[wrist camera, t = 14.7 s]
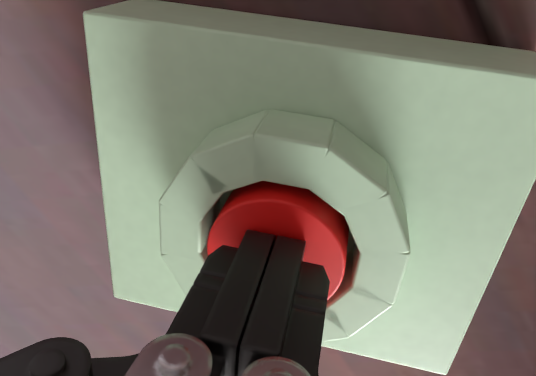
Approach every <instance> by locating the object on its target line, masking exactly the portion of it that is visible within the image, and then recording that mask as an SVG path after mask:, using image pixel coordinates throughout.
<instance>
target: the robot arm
mask: <svg viewBox="0 0 536 376" xmlns="http://www.w3.org/2000/svg"><path fill="white" fill-rule="evenodd" d="M305 246H306V241H303V240H298V239H293V238H289V237H284V236H279V235H278V236H277V238H276V235H273V234H268V233H263V232H258V231H253V230H249V229H248V230H247V231H246V232H245V235H244V237H243V239H242V241H241V243H240V246H239V248H236V247H231V246H227V245H222V246H220V247H219V248H218V249H216V250H215V251H214V252H212V253H211V254H210V255H208V257H207V259H206V260H205V262H204V264H203V266H202V268H201V270H200V273H198V275H197V277H196V279H195V281H194V284H193V286H192V287H191V288H190V290H189V292H188V294H187V296H186V298H185V300H184V302H183V303H182V305H181V307H180V309H179V311H178V313H177V315H176V316H175V318H174V320H173V322H172V324H171V326H170V328H169V330H168V331H167V333H166V334H165V335H163V336H160V337H158V338H156V339H154V340H153V341H151V342H150V343H148V344H147V345H146V346H145V347H144V348H143V349H142V351H141V352H140V353H139V354H136V355H131V356H125V357H109V358H91V356H90V353H89V350H88V349H87V347H86V346H85V345H84V344H83V343H81V342H79V341H78V340H75V339H72V338H66V337H57V338H50V339H46V340H43V341H40V342H37V343H35V344H33V345H30V346H28V347H26V348H23V349H21V350H19V351H16V352H14V353H12V354H10V355H7V356H5V357H3V358H0V376H318V365H319V358H320V351H321V343H322V336H323V328H324V321H325V313H326V306H327V299H328V292H329V284H330V281H329V278H328V276H327V274H326V271H325V269H324V266H323V265H318V264H313V263H308V262H304V261H303V257H304V252H305Z"/></svg>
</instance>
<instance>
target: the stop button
mask: <svg viewBox="0 0 536 376" xmlns="http://www.w3.org/2000/svg"><path fill="white" fill-rule="evenodd" d="M248 229H249V230H253V231H258V232H263V233H268V234H273V235H276V238H277V236H278V235H279V236H284V237H289V238H293V239H298V240H303V241H306V246H305V252H304V257H303V261H304V262H308V263H313V264H318V265H323V266H324V269H325V271H326V274H327V276H328V278H329V281H330V284H329V292H328V299H329V298H330V297H331V296H332V295H333V294H334V293H335V292H336V291H337V289H338V288H339V286H340V284H341V282H342V280H343V277H344V274H345V267H346V256H347V246H348V235H349V226H348V224H347V222H346V219H345V217H344V215H342V214H341V213H340V212H338V211H337V210H336V209H334V208H333V207H332V206H330V205H329V204H328V203H326V202H325V201H324V200H322V199H321V198H320V197H318V196H317V195H316V194H314V193H313V192H312V191H310V190H309V189H305V188H299V187H294V186H289V185H283V184H278V183H273V182H267V181H260V182H257V183H253V184H250V185H247V186H244V187H241V188H237V189H234V190H233V191H232V192H231V194H230V196H229V197H228V199H227V201H226V203H225V204H224V206H223V208H222V209H221V211H220V213H219V215H218V216H217V218H216V220H215V222H214V223H213V225H212V227H211V229H210V232H209V235H208V240H207V254H208V255H210V254H211V253H212V252H214V251H215V250H216V249H218V248H219V247H220V246H222V245H227V246H231V247H236V248H239V246H240V243H241V241H242V239H243V237H244V235H245V232H246V231H247V230H248ZM328 299H327V300H328Z"/></svg>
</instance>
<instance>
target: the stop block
mask: <svg viewBox="0 0 536 376" xmlns="http://www.w3.org/2000/svg"><path fill="white" fill-rule="evenodd" d="M83 20H84V29H85V38H86V47H87V57H88V66H89V75H90V84H91V93H92V102H93V111H94V121H95V130H96V139H97V148H98V157H99V166H100V175H101V185H102V194H103V203H104V212H105V221H106V230H107V239H108V249H109V258H110V267H111V276H112V285H113V294H114V297H116V298H120V299H124V300H128V301H133V302H137V303H141V304H145V305H150V306H154V307H158V308H162V309H167V310H171V311H175V312H178V311H179V309H180V307H181V305H182V303H183V302H184V300H185V298H186V296H187V294H188V292H189V290H190V288H191V287H192V286H193V284H194V281H195V279H196V277H197V275H198V273H200V270H201V268H202V266H203V264H204V262H205V260H206V259H207V257H208V254H207V240H208V235H209V232H210V229H211V227H212V225H213V223H214V222H215V220H216V218H217V216H218V215H219V213H220V211H221V209H222V208H223V206H224V204H225V203H226V201H227V199H228V197H229V196H230V194H231V192H232V191H233V190H234V189H237V188H241V187H244V186H247V185H250V184H253V183H257V182H260V181H267V182H273V183H278V184H283V185H289V186H294V187H299V188H305V189H309V190H310V191H312V192H313V193H314V194H316V195H317V196H318V197H320V198H321V199H322V200H324V201H325V202H326V203H328V204H329V205H330V206H332V207H333V208H334V209H336V210H337V211H338V212H340V213H341V214H342V215H344V217H345V219H346V222H347V224H348V226H349V235H348V246H347V256H346V267H345V274H344V277H343V280H342V282H341V284H340V286H339V288H338V289H337V291H336V292H335V293H334V294H333V295H332V296H331V297H330V298H329V299H328V300H327V306H326V313H325V321H324V328H323V336H322V343H321V346H324V347H328V348H333V349H337V350H341V351H345V352H350V353H354V354H358V355H362V356H367V357H371V358H375V359H379V360H384V361H388V362H392V363H396V364H401V365H405V366H409V367H413V368H418V369H422V370H426V371H430V372H435V373H439V374H443V375H446V374H447V373H448V370H449V368H450V366H451V364H452V362H453V359H454V357H455V355H456V353H457V351H458V348H459V346H460V344H461V342H462V340H463V337H464V335H465V333H466V331H467V329H468V326H469V324H470V322H471V320H472V318H473V315H474V313H475V311H476V309H477V307H478V304H479V302H480V300H481V298H482V296H483V293H484V291H485V289H486V287H487V285H488V282H489V280H490V278H491V276H492V274H493V271H494V269H495V267H496V265H497V263H498V260H499V258H500V256H501V254H502V252H503V249H504V247H505V245H506V243H507V241H508V238H509V236H510V234H511V232H512V230H513V227H514V225H515V223H516V221H517V219H518V216H519V214H520V212H521V210H522V208H523V205H524V203H525V201H526V199H527V196H528V194H529V192H530V190H531V188H532V185H533V183H534V181H535V179H536V52H534V51H528V50H521V49H513V48H506V47H499V46H491V45H484V44H477V43H469V42H462V41H454V40H447V39H440V38H432V37H425V36H417V35H410V34H403V33H395V32H388V31H381V30H373V29H366V28H358V27H351V26H344V25H336V24H329V23H321V22H314V21H307V20H299V19H292V18H285V17H277V16H270V15H262V14H255V13H248V12H240V11H233V10H226V9H218V8H211V7H203V6H196V5H189V4H181V3H174V2H166V1H159V0H129V1H124V2H120V3H116V4H112V5H108V6H104V7H99V8H95V9H91V10H87V11H84V12H83Z"/></svg>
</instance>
